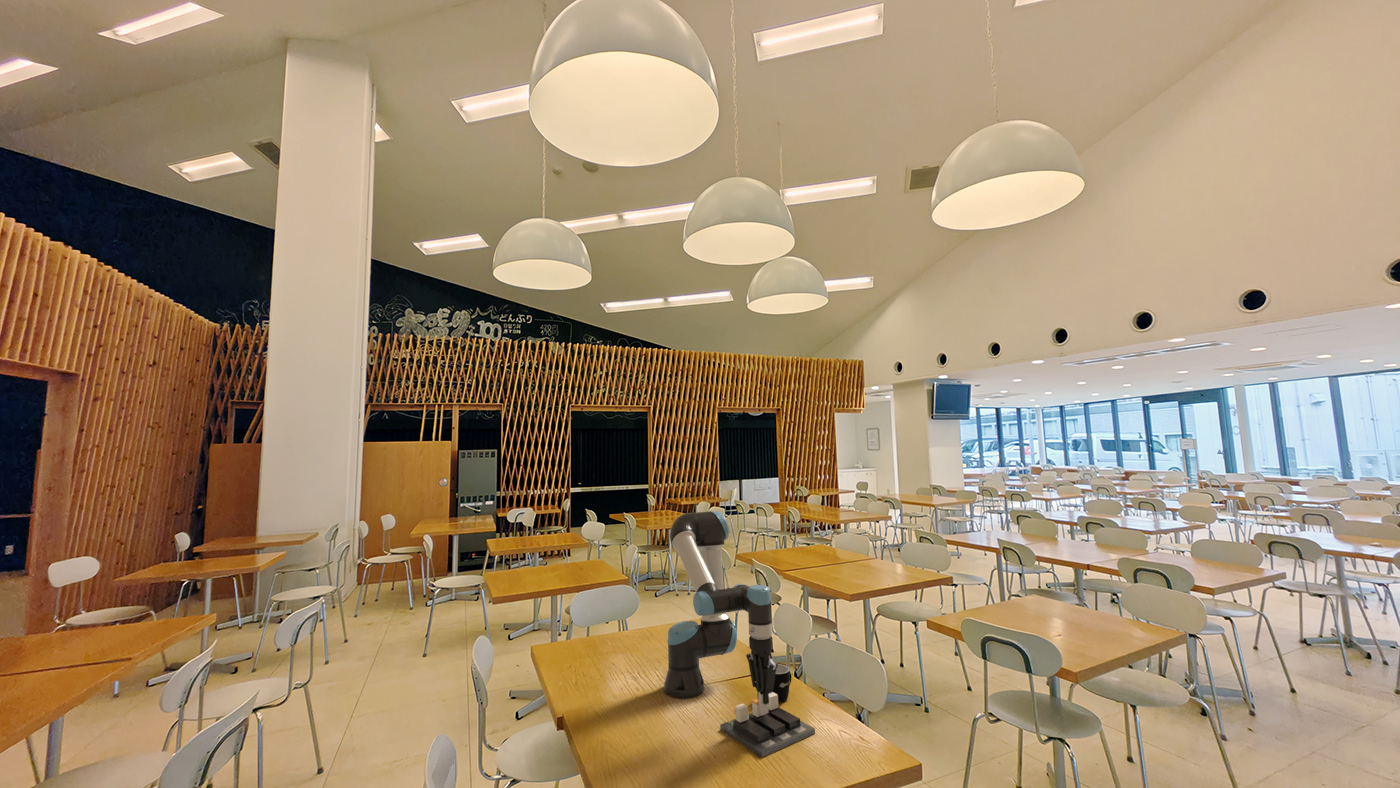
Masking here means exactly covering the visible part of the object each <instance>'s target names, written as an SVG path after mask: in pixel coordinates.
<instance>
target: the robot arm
mask: <svg viewBox="0 0 1400 788" xmlns="http://www.w3.org/2000/svg"><path fill="white" fill-rule="evenodd" d="M729 530H730V528H729V524H728V520H727V518H726V517H725V515H724V513H722V512H720V511H716V510H715V511H713V510H712V511H711V510H709V511H700V512H686V513H683V514H681V515H679V516H678V517H677V518H676V519H675V520H674V521H673V523H672V524H671V527H670V530H669V541H670V543H671V546H672V548H673V549H674V551H676V552H677V554H678V555H679V557H680V561H681V562H682V564H683V567H684V569H685V572H686V574H687V577H688V578H689V580H690V583H691V586H692V588H693V589H694V590H693V591H694V594H693V599H692V603H693V609H694V612H695V613H696V615H697V616H700V624H698V622H697V621H694V620H685V621H684V620H683V621H680V622H677V623H675V624H673V625H672V626H671V627H669V629H668V631H667V658H668V659H667V661H668V663H667V664H668V670H667V672H666V677H665V680H664V685H663V690H664V694H666V695H667V696H668V697H671V698H676V699H689V698H694V697H697V696H700V695H702V694H703V692H704V691H705V681H704V677H703V674H702V671H701V669H700V659H704V658H708V657H710V658H711V657H715V656H724V655H726V654H729V653H732V652H733V651H734V650H735V648H736V646H737V640H738V639H737V638H738V630H737V628H736V624H735V621H733V620H731V616H730V615H729V614H728V613H732V612H739V611H740V612H741V611H745V612H747V615H748V634H749V637H748V643H749V649H750V653H747V654H746V655H745V656H746V659H747V662H748V669H749V674H750V679H751V685H752V687H753V688H755V690H756V691H757V698H758V701H759V714H760V715H765V714H767V713H769V712H768V703H769V693H771V692H773V690H774V681H775V673H776V669H777V667H778V663H777V662H774V660H773V655H772V650H773V649H774V648H773V646H774V645H773V644H774V642H773V637H772V635H773V624H772V623H773V622H772V597H771V589H770V587H769V586H767V585H763V584H753V585H747V584H742V583H737V584H735V585H734V586H733V587H729V588H725V586H724V585H725V584H724V572H723V571H724V570H723V559H722V558H723V557H722V548H723V547H724V546H725V541H726V540H728V538H729V535H730V531H729Z"/></svg>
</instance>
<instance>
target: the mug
mask: <svg viewBox="0 0 1400 788" xmlns="http://www.w3.org/2000/svg"><path fill="white" fill-rule="evenodd" d="M777 664H778V663H777ZM791 683H792V673H791V671H790V667H789V666H787V665H784V664H778V667H777V669H776V673H775V681H774V690H773V693H775V694H777V695H778V703H784V702H787V700H788V698H789V694H790V693H789V692H790V685H791ZM771 693H772V692H771ZM769 694H770V693H769Z"/></svg>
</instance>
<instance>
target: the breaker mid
mask: <svg viewBox="0 0 1400 788" xmlns="http://www.w3.org/2000/svg"><path fill="white" fill-rule="evenodd" d="M751 706H752V707H751V708H752V712H753V715H755V716H756V717H760V716H762V715H760V714H759V701H758V697H757V698H755V699H752V700H751Z"/></svg>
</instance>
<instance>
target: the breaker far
mask: <svg viewBox="0 0 1400 788" xmlns="http://www.w3.org/2000/svg"><path fill="white" fill-rule="evenodd" d="M778 707H779V702H778V695H777V694H775V693H773V692H772V693H770V694H769V703H768V709H769V710H773V709H776V708H778Z"/></svg>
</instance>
